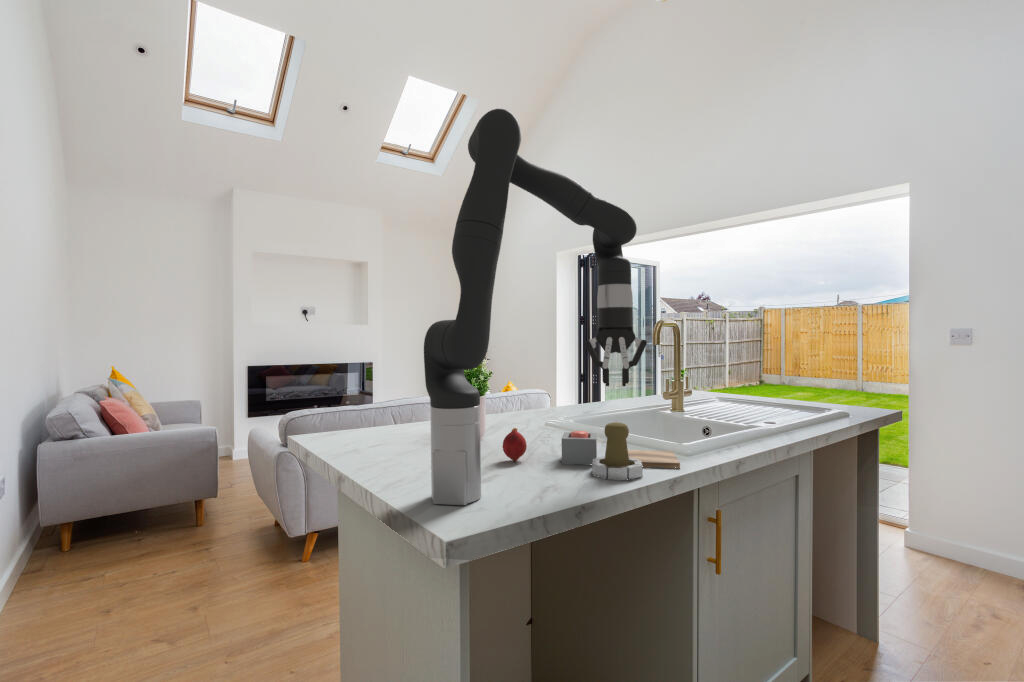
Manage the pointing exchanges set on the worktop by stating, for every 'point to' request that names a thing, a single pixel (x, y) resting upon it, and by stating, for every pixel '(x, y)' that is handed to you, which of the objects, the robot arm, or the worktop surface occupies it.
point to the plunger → (579, 434)
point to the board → (655, 458)
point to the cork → (616, 444)
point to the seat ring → (617, 469)
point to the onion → (514, 445)
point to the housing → (579, 449)
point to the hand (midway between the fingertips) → (615, 385)
